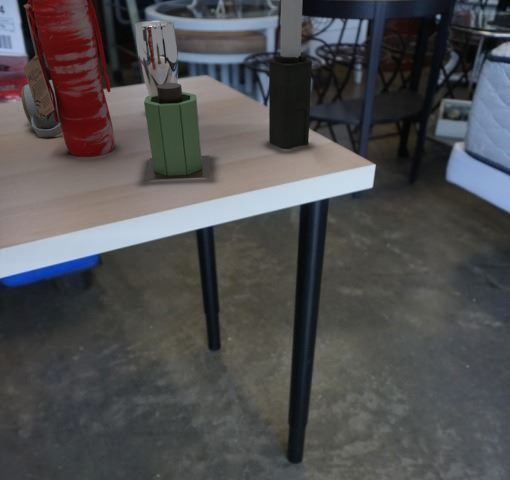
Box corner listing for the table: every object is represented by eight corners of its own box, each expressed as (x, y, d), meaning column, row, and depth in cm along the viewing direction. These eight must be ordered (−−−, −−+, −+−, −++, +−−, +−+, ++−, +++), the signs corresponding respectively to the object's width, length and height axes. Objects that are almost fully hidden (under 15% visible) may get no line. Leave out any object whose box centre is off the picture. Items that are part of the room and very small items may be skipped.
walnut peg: (145, 190, 74) (130, 95, 66) (151, 167, 81) (138, 79, 73) (210, 188, 75) (202, 92, 67) (210, 165, 81) (203, 76, 73)
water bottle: (41, 171, 81) (-19, -39, 64) (49, 153, 87) (-4, -42, 70) (121, 165, 82) (83, -42, 65) (124, 148, 88) (89, -46, 71)
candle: (284, 159, 82) (288, -48, 66) (266, 151, 86) (265, -49, 69) (311, 153, 84) (320, -50, 68) (291, 144, 88) (296, -51, 71)
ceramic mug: (36, 121, 100) (23, 76, 95) (80, 119, 101) (70, 73, 96) (26, 140, 93) (11, 91, 87) (73, 137, 93) (62, 88, 88)
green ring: (152, 176, 74) (142, 106, 68) (156, 159, 79) (147, 92, 73) (201, 174, 74) (195, 104, 68) (202, 158, 79) (196, 90, 73)
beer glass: (168, 125, 97) (157, 27, 87) (139, 120, 100) (125, 25, 90) (191, 115, 102) (182, 21, 92) (163, 111, 104) (151, 19, 94)
